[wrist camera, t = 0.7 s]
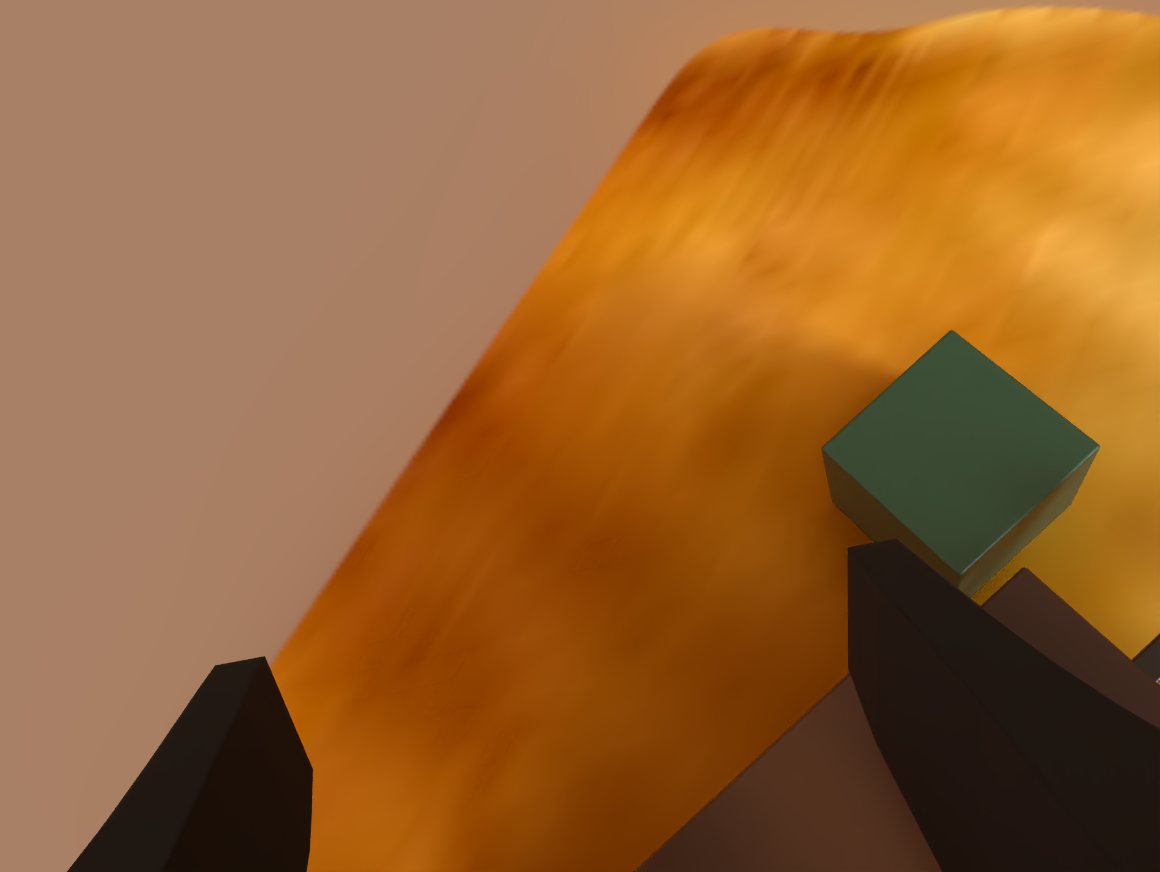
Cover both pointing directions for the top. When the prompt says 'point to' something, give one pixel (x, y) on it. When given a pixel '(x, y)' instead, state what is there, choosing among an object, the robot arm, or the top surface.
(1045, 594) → the drawer
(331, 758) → the top surface
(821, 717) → the cabinet
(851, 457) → the block
